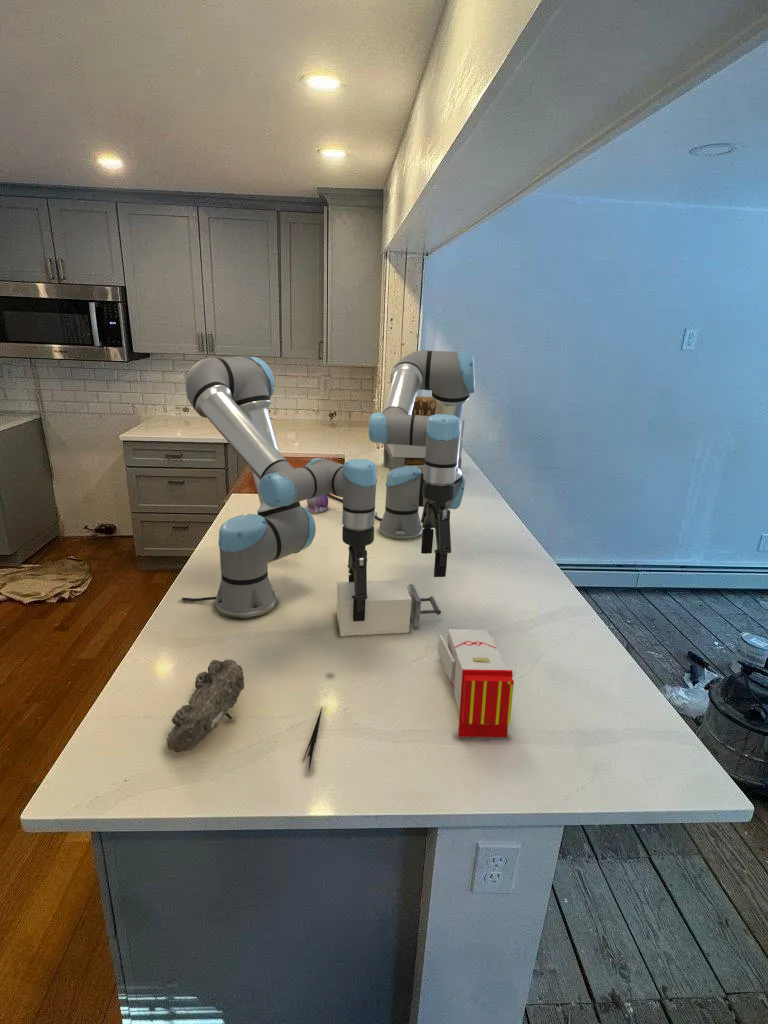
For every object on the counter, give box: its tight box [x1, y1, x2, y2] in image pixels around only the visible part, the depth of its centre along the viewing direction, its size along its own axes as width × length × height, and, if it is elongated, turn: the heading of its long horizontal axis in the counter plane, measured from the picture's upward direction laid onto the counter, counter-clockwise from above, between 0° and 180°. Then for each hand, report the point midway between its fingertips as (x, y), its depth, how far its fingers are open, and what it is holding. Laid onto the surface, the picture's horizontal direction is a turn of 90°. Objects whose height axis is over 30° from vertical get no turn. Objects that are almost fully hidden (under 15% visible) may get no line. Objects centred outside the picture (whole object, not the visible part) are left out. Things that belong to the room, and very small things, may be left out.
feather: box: [301, 673, 332, 771], centre depth 108 cm, size 2×28×2 cm
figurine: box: [306, 494, 329, 514], centre depth 217 cm, size 9×10×15 cm
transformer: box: [383, 395, 465, 472], centre depth 268 cm, size 34×33×41 cm
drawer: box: [407, 583, 442, 628], centre depth 142 cm, size 21×9×7 cm, turn 100°
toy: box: [437, 628, 515, 738], centre depth 117 cm, size 12×13×30 cm
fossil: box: [166, 658, 245, 754], centre depth 106 cm, size 22×10×15 cm
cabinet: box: [336, 579, 411, 637], centre depth 141 cm, size 17×10×9 cm, turn 99°
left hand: (356, 608), depth 140 cm, fingers closed on cabinet, 10 cm apart
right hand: (432, 564), depth 140 cm, fingers open, 13 cm apart
